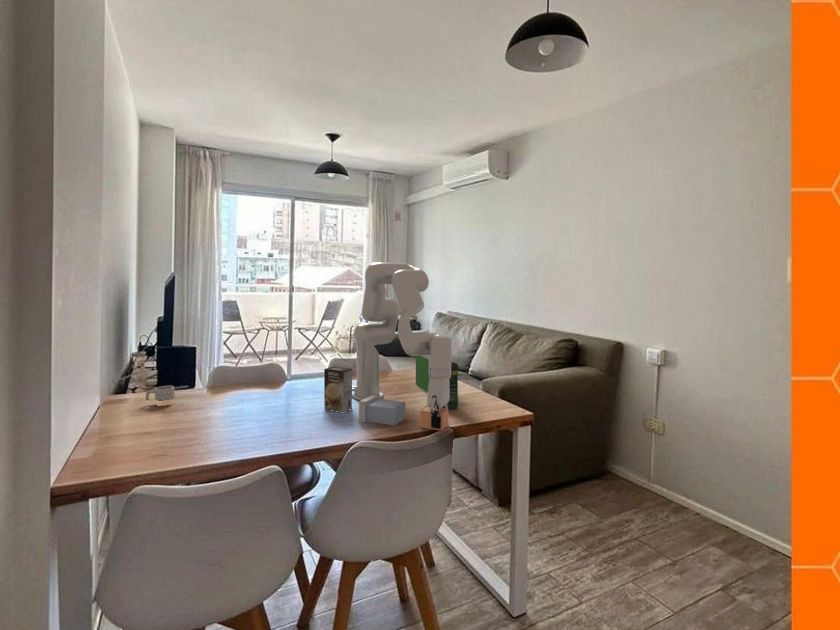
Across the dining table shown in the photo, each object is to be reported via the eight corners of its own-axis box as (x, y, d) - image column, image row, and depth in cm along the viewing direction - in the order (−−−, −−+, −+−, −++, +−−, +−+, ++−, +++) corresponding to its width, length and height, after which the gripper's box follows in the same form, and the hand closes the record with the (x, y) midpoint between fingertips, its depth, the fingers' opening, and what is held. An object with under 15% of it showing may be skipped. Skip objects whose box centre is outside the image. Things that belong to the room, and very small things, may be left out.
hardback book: (446, 392, 201) (446, 338, 199) (430, 394, 198) (431, 339, 196) (430, 383, 217) (430, 333, 215) (415, 385, 214) (416, 334, 212)
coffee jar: (461, 409, 176) (461, 361, 175) (442, 411, 173) (442, 363, 172) (450, 402, 185) (451, 357, 184) (432, 404, 182) (433, 358, 181)
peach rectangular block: (420, 427, 155) (420, 410, 154) (426, 422, 160) (426, 405, 160) (442, 430, 152) (442, 413, 151) (448, 425, 157) (448, 408, 157)
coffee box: (323, 410, 174) (322, 368, 172) (333, 405, 180) (333, 365, 178) (343, 413, 170) (343, 371, 169) (353, 408, 176) (352, 367, 174)
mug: (176, 401, 184) (175, 385, 184) (173, 405, 178) (172, 389, 178) (148, 403, 181) (147, 386, 181) (143, 408, 175) (143, 391, 174)
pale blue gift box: (357, 421, 161) (357, 401, 160) (372, 412, 171) (372, 393, 170) (393, 426, 156) (393, 406, 155) (406, 417, 166) (406, 398, 165)
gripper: (438, 367, 163) (437, 416, 164) (419, 376, 147) (419, 431, 148) (458, 368, 160) (457, 418, 162) (441, 379, 144) (441, 434, 146)
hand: (439, 424), depth 155 cm, fingers closed on peach rectangular block, 6 cm apart
